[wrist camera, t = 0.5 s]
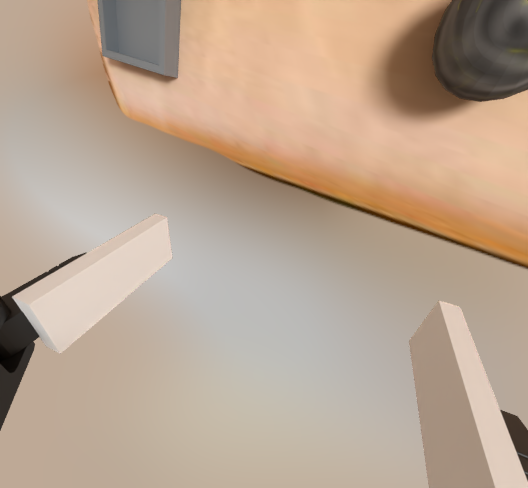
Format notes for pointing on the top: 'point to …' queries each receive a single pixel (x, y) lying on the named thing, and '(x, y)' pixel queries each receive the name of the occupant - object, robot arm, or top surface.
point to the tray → (142, 33)
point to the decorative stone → (483, 49)
